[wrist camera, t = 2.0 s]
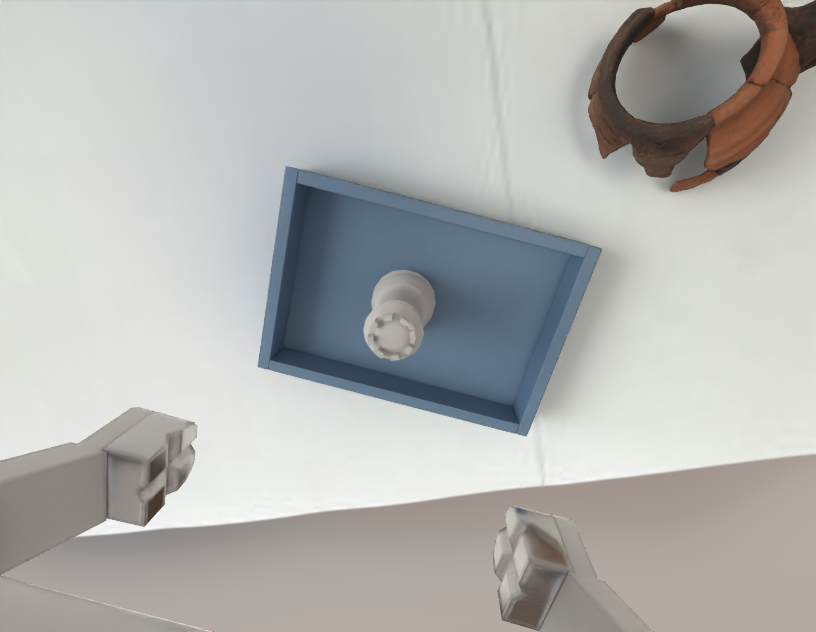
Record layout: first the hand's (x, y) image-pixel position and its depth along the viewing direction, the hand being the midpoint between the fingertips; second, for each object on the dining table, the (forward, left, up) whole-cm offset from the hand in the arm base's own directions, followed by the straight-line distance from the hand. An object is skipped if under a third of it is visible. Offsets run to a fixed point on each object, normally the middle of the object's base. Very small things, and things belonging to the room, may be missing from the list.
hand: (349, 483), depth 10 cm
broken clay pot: (+13, +16, -19) cm, 28 cm away
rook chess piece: (0, 0, -19) cm, 19 cm away
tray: (+1, 0, -19) cm, 19 cm away
